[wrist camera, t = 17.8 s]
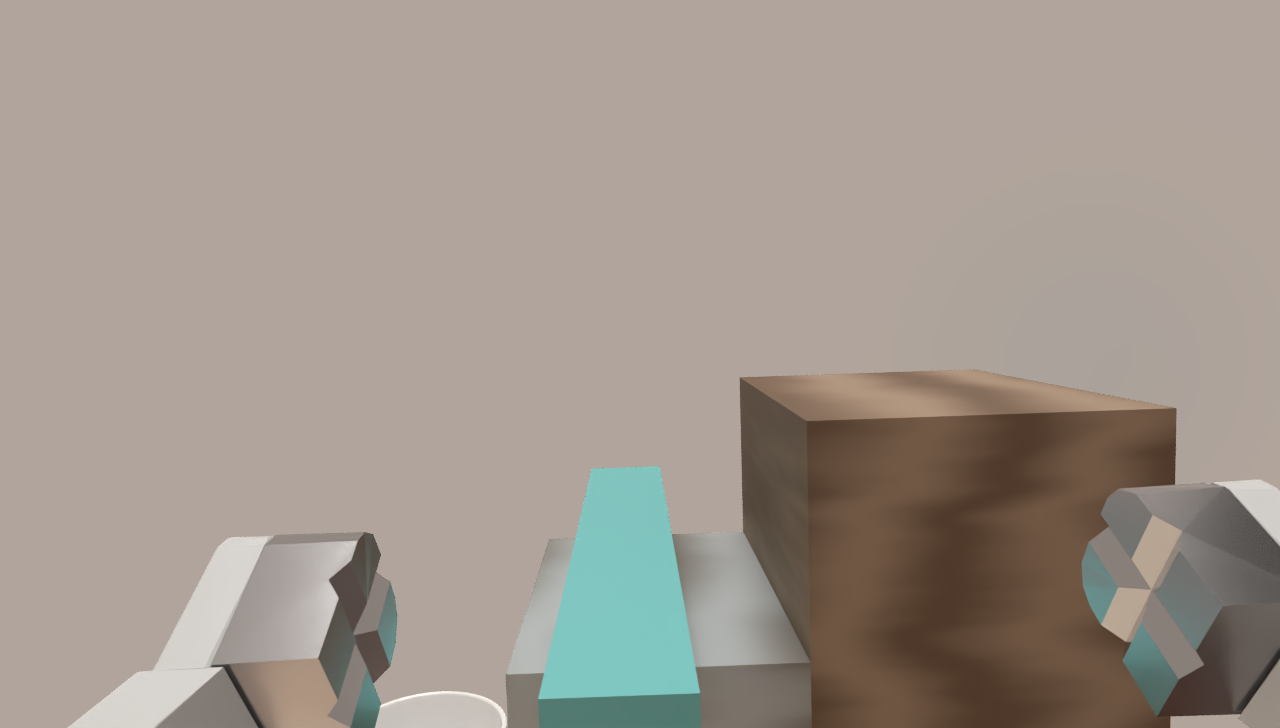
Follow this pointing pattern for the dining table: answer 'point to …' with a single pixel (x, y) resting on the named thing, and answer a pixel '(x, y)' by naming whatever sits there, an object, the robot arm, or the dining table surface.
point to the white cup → (441, 711)
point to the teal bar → (621, 616)
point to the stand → (903, 558)
